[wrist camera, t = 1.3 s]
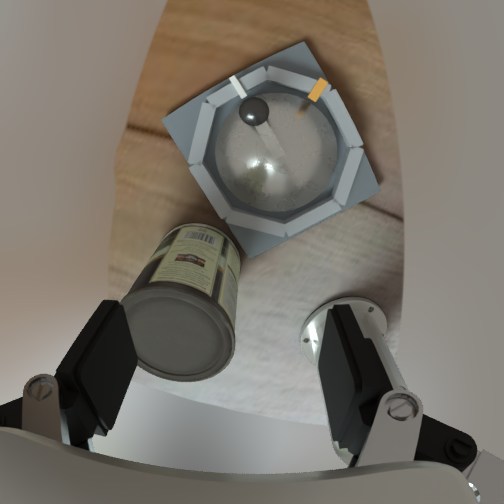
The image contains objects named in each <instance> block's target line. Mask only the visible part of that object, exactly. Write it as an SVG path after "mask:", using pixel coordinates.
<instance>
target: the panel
mask: <svg viewBox="0 0 504 504" xmlns="http://www.w3.org/2000/svg"><path fill="white" fill-rule="evenodd" d="M266 93H286V94H291V95H295V96H297V97H300V98H302V99H304V100H306V101H308V102H310V103H311V104H312V105H314V106H315V107H316V108H318V109H319V110H320V111H321V112H322V113H323V115H324V116H325V117H326V118H327V120H328V122H329V123H330V125H331V127H332V129H333V131H334V134H335V138H336V142H337V163H336V167H335V171H334V173H333V176H332V178H331V180H330V182H329V183H328V185H327V186H326V188H325V189H324V190H323V191H322V192H321V193H320V194H319V196H317V197H316V198H315V199H314V200H312V201H311V202H309V203H307V204H306V205H304V206H301V207H299V208H296V209H293V210H288V211H279V212H274V211H265V210H260V209H257V208H254V207H252V206H250V205H248V204H246V203H244V202H243V201H241V200H240V199H238V198H237V197H236V196H235V195H234V194H233V193H232V192H231V191H230V190H229V189H228V188H227V186H226V185H225V183H224V182H223V180H222V178H221V176H220V174H219V171H218V168H217V164H216V157H215V145H216V140H217V136H218V133H219V130H220V128H221V126H222V124H223V122H224V120H225V119H226V117H227V116H228V115H229V114H230V113H231V112H232V110H233V109H235V108H236V107H237V106H238V105H239V104H241V103H242V102H243V101H244V100H246V99H248V98H251V97H254V96H258V95H261V94H266ZM161 121H162V122H163V124H164V125H165V127H166V129H167V130H168V132H169V133H170V135H171V137H172V138H173V140H174V141H175V143H176V144H177V146H178V148H179V149H180V151H181V152H182V154H183V156H184V157H185V159H186V160H187V162H188V163H189V165H190V167H189V170H190V171H191V173H192V174H193V176H194V178H195V179H196V181H197V182H198V184H199V185H200V187H201V189H202V190H203V192H204V193H205V195H206V196H207V198H208V200H209V201H210V203H211V204H212V206H213V207H214V209H215V211H216V212H217V214H218V215H219V217H220V218H221V219H224V220H225V222H226V223H227V225H228V226H229V228H230V230H231V231H232V233H233V234H234V236H235V237H236V239H237V240H238V242H239V244H240V245H241V247H242V248H243V250H244V251H245V253H246V255H247V256H248V258H249V259H251V258H253V257H255V256H257V255H259V254H261V253H263V252H265V251H267V250H269V249H271V248H273V247H274V246H276V245H278V244H280V243H282V242H284V241H286V240H288V239H290V238H292V237H294V236H296V235H298V234H300V233H301V232H303V231H305V230H307V229H309V228H311V227H313V226H315V225H317V224H319V223H321V222H323V221H325V220H327V219H328V218H330V217H332V216H334V215H336V214H338V213H340V212H342V211H344V210H346V209H348V208H350V207H352V206H353V205H355V204H357V203H359V202H361V201H363V200H365V199H367V198H369V197H371V196H373V195H374V194H376V193H378V192H380V191H381V190H380V188H379V185H378V183H377V180H376V178H375V175H374V173H373V171H372V168H371V166H370V164H369V161H368V159H367V157H366V155H365V153H364V149H363V148H362V146H361V145H363V142H362V140H361V137H360V135H359V133H358V131H357V129H356V127H355V125H354V123H353V121H352V119H351V117H350V115H349V113H348V111H347V109H346V107H345V105H344V103H343V101H342V100H341V98H340V96H339V94H338V92H337V90H336V89H334V90H333V89H332V87H331V85H330V83H329V82H328V80H327V78H326V76H325V75H324V73H323V71H322V70H321V68H320V66H319V65H318V63H317V61H316V60H315V58H314V56H313V55H312V53H311V52H310V50H309V48H308V47H307V45H306V44H305V42H301V43H299V44H297V45H294V46H292V47H290V48H288V49H285V50H283V51H281V52H279V53H277V54H275V55H272V56H270V57H268V58H266V59H264V60H262V61H260V62H258V63H256V64H254V65H252V66H250V67H248V68H246V69H245V70H243V71H241V72H239V73H237V74H235V75H233V76H232V77H230V78H228V79H226V80H224V81H223V82H221V83H219V84H217V85H216V86H214V87H212V88H211V89H209V90H207V91H205V92H204V93H202V94H201V95H199V96H197V97H196V98H194V99H192V100H191V101H189V102H188V103H186V104H185V105H183V106H181V107H180V108H178V109H177V110H175V111H174V112H172V113H171V114H169V115H168V116H166V117H165V118H163V119H162V120H161Z"/></svg>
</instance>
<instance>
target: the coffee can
mask: <svg viewBox="0 0 504 504" xmlns="http://www.w3.org/2000/svg"><path fill="white" fill-rule="evenodd" d="M239 273H240V257H239V253H238V251H237V248H236V246H235V245H234V243H233V242H232V240H231V239H230V238H229V237H228V236H227V235H226V234H225V233H223V232H222V231H220V230H219V229H217V228H215V227H212V226H210V225H206V224H201V223H190V224H184V225H181V226H178V227H176V228H174V229H173V230H171V231H170V232H169V233H167V234H166V236H165V237H164V238H163V239H162V241H161V242H160V245H159V246H158V248H157V249H156V251H155V252H154V254H153V255H152V257H151V258H150V260H149V261H148V263H147V264H146V266H145V268H144V269H143V271H142V272H141V274H140V275H139V277H138V278H137V280H136V281H135V283H134V284H133V286H132V288H131V289H130V291H129V292H128V294H127V295H126V296H125V297H124V298H123V299H122V300H121V302H120V305H123V307H124V310H125V314H126V318H127V322H128V325H129V329H130V333H131V336H132V340H133V343H134V346H135V350H136V353H137V357H138V363H137V366H139V367H140V368H142V369H143V370H145V371H147V372H149V373H150V374H153V375H155V376H157V377H160V378H163V379H167V380H171V381H177V382H195V381H201V380H205V379H208V378H211V377H213V376H215V375H217V374H218V373H220V372H221V371H222V370H223V369H225V368H226V367H227V365H228V364H229V363H230V361H231V359H232V357H233V355H234V351H235V333H234V331H235V318H236V305H237V292H238V280H239Z"/></svg>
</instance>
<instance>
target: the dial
mask: <svg viewBox="0 0 504 504" xmlns="http://www.w3.org/2000/svg"><path fill="white" fill-rule="evenodd" d="M215 157H216V164H217V168H218V171H219V174H220V176H221V178H222V180H223V182H224V183H225V185H226V186H227V188H228V189H229V190H230V191H231V192H232V193H233V194H234V195H235V196H236V197H237V198H238V199H240V200H241V201H243V202H244V203H246V204H248V205H250V206H252V207H254V208H257V209H260V210H265V211H274V212H279V211H288V210H293V209H296V208H299V207H301V206H304V205H306V204H307V203H309V202H311V201H312V200H314V199H315V198H316V197H317V196H319V194H320V193H321V192H322V191H323V190H324V189H325V188H326V186H327V185H328V183H329V182H330V180H331V178H332V176H333V173H334V171H335V167H336V163H337V142H336V138H335V134H334V131H333V129H332V127H331V125H330V123H329V122H328V120H327V118H326V117H325V116H324V115H323V113H322V112H321V111H320V110H319V109H318V108H316V107H315V106H314V105H312V104H311V103H310V102H308V101H306V100H304V99H302V98H300V97H297V96H295V95H291V94H286V93H266V94H261V95H258V96H254V97H251V98H248V99H246V100H244V101H243V102H242V103H241V104H239V105H238V106H237V107H236V108H235V109H233V110H232V112H231V113H230V114H229V115H228V116H227V117H226V119H225V120H224V122H223V124H222V126H221V128H220V130H219V133H218V136H217V140H216V145H215Z"/></svg>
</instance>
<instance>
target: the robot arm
mask: <svg viewBox="0 0 504 504" xmlns="http://www.w3.org/2000/svg"><path fill="white" fill-rule="evenodd" d="M386 332H387V321H386V317H385V315H384V313H383V311H382V310H381V308H380V307H379V306H378V305H377V304H375V303H374V302H372V301H370V300H368V299H365V298H361V297H346V298H341V299H337V300H334V301H332V302H329V303H327V304H325V305H323V306H322V307H320V308H319V309H317V310H316V311H315V312H314V313H313V314H312V315H311V316H310V317H309V318H308V319H307V320H306V322H305V324H304V326H303V327H302V330H301V333H300V346H301V350H302V353H303V355H304V357H305V358H306V359H307V360H308V361H309V362H310V363H311V364H313V365H315V366H316V367H317V372H318V377H319V381H320V386H321V391H322V396H323V401H324V406H325V411H326V416H327V421H328V426H329V431H330V436H331V441H332V445H333V448H334V450H335V452H336V454H337V456H338V457H339V458H340V459H341V460H342V461H343V462H344V463H346V464H347V465H348V467H347V468H345V469H338V470H337V469H336V470H327V471H315V472H303V473H285V474H233V473H232V474H231V473H214V472H202V471H191V470H183V469H174V468H167V467H160V466H154V465H149V464H143V463H138V462H133V461H128V460H123V459H119V458H115V457H110V456H106V455H102V454H99V453H95V452H94V448H93V443H92V437H93V435H94V434H97V435H101V436H107V432H108V430H111V429H112V428H113V426H114V424H115V421H116V418H117V415H118V413H119V410H120V407H121V405H122V402H123V399H124V397H125V394H126V392H127V389H128V386H129V384H130V381H131V379H132V376H133V374H134V371H135V369H136V366H137V363H138V357H137V353H136V350H135V346H134V343H133V340H132V336H131V333H130V329H129V325H128V322H127V318H126V314H125V310H124V307H123V305H120V303H119V302H118V301H117V300H103V301H102V302H101V304H100V305H99V306H98V308H97V310H96V311H95V312H94V313H93V315H92V316H91V318H90V319H89V321H88V322H87V324H86V325H85V326H84V328H83V329H82V331H81V332H80V334H79V335H78V337H77V338H76V340H75V341H74V343H73V344H72V346H71V347H70V349H69V351H68V352H67V354H66V355H65V357H64V358H63V360H62V361H61V364H60V365H59V366H58V368H57V369H56V374H55V375H54V377H53V376H52V375H49V374H39V375H36V376H34V377H32V378H31V379H30V380H29V381H28V382H27V383H26V385H25V386H24V390H23V397H21V398H19V399H16V400H13V401H11V402H8V403H6V404H3V405H1V406H0V504H504V460H502V459H500V458H498V457H496V456H494V455H493V454H491V453H489V452H487V451H485V450H484V449H483V450H482V451H481V452H480V451H478V450H477V445H476V443H475V441H474V440H473V439H472V437H471V436H469V435H468V434H466V433H464V432H462V431H459V430H457V429H455V428H453V427H450V426H448V425H446V424H444V423H442V422H439V421H437V420H435V419H433V418H430V417H428V416H426V415H424V414H423V405H422V402H421V400H420V399H419V398H418V397H417V396H416V395H415V394H413V393H412V392H409V390H408V388H407V386H406V384H405V381H404V379H403V377H402V375H401V373H400V371H399V368H398V367H397V364H396V362H395V360H394V358H393V356H392V354H391V352H390V350H389V348H388V346H387V344H386V342H385V340H384V338H385V336H386Z"/></svg>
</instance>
